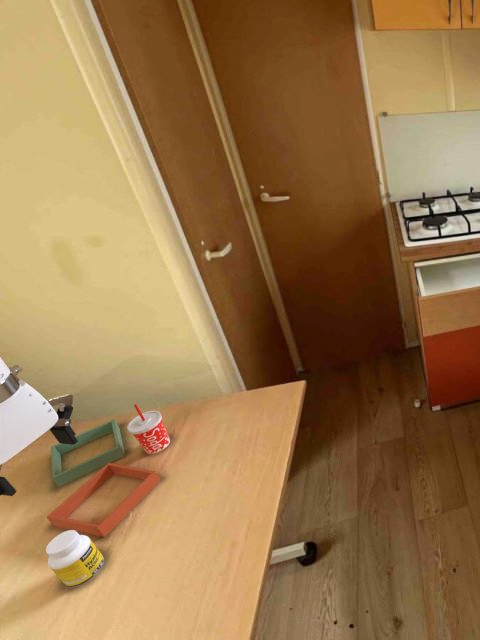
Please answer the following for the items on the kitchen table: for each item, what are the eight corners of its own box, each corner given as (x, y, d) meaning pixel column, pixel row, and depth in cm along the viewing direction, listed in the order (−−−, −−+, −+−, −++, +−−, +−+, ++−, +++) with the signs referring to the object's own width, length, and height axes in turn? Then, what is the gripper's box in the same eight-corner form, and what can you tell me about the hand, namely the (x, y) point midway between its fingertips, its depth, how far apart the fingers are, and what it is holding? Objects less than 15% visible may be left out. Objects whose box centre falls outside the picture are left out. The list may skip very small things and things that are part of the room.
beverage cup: (140, 462, 97) (114, 420, 90) (145, 443, 102) (120, 401, 95) (173, 451, 100) (150, 409, 93) (176, 432, 104) (154, 391, 98)
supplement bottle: (100, 580, 76) (75, 549, 72) (61, 595, 74) (32, 565, 69) (110, 550, 80) (86, 520, 76) (73, 564, 78) (46, 534, 74)
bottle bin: (58, 456, 98) (50, 446, 97) (120, 429, 105) (114, 418, 104) (60, 489, 91) (51, 478, 90) (126, 457, 98) (119, 446, 97)
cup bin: (55, 527, 84) (46, 517, 82) (115, 472, 95) (108, 462, 93) (106, 539, 82) (97, 528, 81) (162, 481, 93) (155, 471, 91)
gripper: (24, 354, 72) (72, 423, 80) (-121, 439, 57) (-43, 514, 65) (62, 357, 72) (107, 427, 79) (-74, 444, 56) (-1, 520, 64)
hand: (40, 466), depth 72 cm, fingers open, 9 cm apart
